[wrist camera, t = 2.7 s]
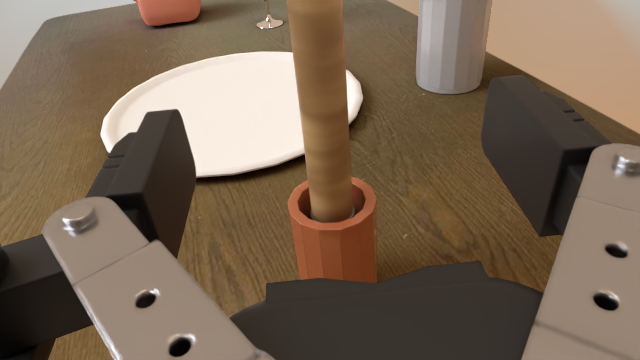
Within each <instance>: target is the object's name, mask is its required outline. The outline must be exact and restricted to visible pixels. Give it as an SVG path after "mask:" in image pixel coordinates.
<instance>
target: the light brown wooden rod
mask: <svg viewBox="0 0 640 360" xmlns="http://www.w3.org/2000/svg"><path fill="white" fill-rule="evenodd" d="M286 2H287V10H288V18H289V27H290V35H291V43H292V52H293V60H294V68H295V77H296V85H297V93H298V101H299V110H300V118H301V126H302V135H303V143H304V151H305V160H306V168H307V176H308V184H309V193H310V201H311V211H310V215H311V220H315V221H318V222H321V223H334V222H341V221H344V220H347V219H350V218H353V217H354V216H355V209H354V206H353V199H352V180H351V160H350V141H349V121H348V101H347V82H346V62H345V43H344V23H343V3H342V0H286Z"/></svg>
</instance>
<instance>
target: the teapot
mask: <svg viewBox="0 0 640 360" xmlns="http://www.w3.org/2000/svg"><path fill="white" fill-rule="evenodd" d="M134 1H136V2H137V3H138V6H139V10H140V14H141V16H142V18H143V20H144V21H145V23H146V24H147V25H148V26H153V25H155V26H160V25H164V24H169V23H176V22H189V21H192V20H194V19H196V18H197V17H198V15H199V13H200V6H201V0H134Z"/></svg>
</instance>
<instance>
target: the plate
mask: <svg viewBox="0 0 640 360" xmlns="http://www.w3.org/2000/svg"><path fill="white" fill-rule="evenodd" d="M346 82H347V101H348V121H349V124H350V123H351V122H352V121H353V120H354V119H355V118H356V117H357V114H358V111H359V109H360V106H361V103H362V101H363V96H362V91H361V85H360V83H359V82H358V80H357V79H356V78H355V77H354V76H353V75H352V74H351V72H350V71H348V70H346ZM170 109H178V110H179V112H180V114H181V116H182V119H183V123H184V126H185V130H186V133H187V137H188V140H189V144H190V147H191V151H192V154H193V158H194V162H195V167H196V178H198V177H212V176H225V175H236V174H240V173H245V172H249V171H254V170H258V169H263V168H267V167H272V166H276V165H278V164H281V163H284V162H286V161H289V160H291V159H294V158H296V157H299V156H302V155H304V154H305V151H304V143H303V135H302V126H301V118H300V110H299V101H298V93H297V85H296V77H295V68H294V60H293V53H290V52H252V53H240V54H231V55H226V56H220V57H215V58H209V59H205V60H201V61H198V62H194V63H190V64H187V65H183V66H180V67H177V68H175V69H172V70H170V71H167V72H165V73H162V74H160V75H157V76H155V77H153V78H151V79H149V80H148V81H146V82H144V83H142V84H140V85H138V86H137V87H135V88H133V89H132V90H131V91H130V92H128V93H127V94H126V95H125V96H123V97H122V98H121V99H119V100H118V101H117V102H116V103H115V105H114V106H113V107H112V109H111V110H110V111H109V113H108V114H107V115H106V117H105V118H104V121H103V125H102V130H101V137H102V140H103V142H104V145H105V147H106V150H107V152H108V153H110V152H111V150H112V148H113V147H114V145H115V144H116V143H117V142H118V141H119V140H121V139H122V138H123V137H124V136H125V135H127V134H128V133H131V132H137V130H138V128H139V126H140V124H141V122H142V120H143V118H144V116H145V114H146V113H147V112H151V111H161V110H170Z"/></svg>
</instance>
